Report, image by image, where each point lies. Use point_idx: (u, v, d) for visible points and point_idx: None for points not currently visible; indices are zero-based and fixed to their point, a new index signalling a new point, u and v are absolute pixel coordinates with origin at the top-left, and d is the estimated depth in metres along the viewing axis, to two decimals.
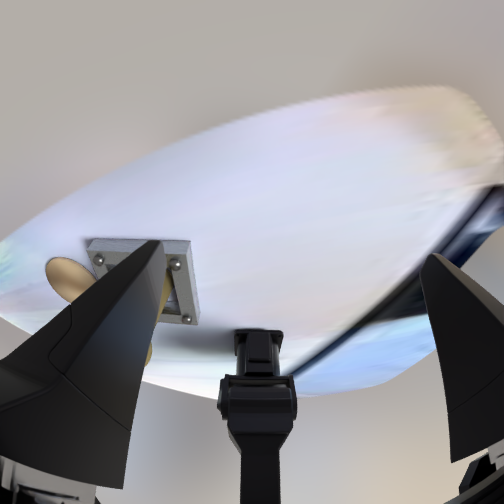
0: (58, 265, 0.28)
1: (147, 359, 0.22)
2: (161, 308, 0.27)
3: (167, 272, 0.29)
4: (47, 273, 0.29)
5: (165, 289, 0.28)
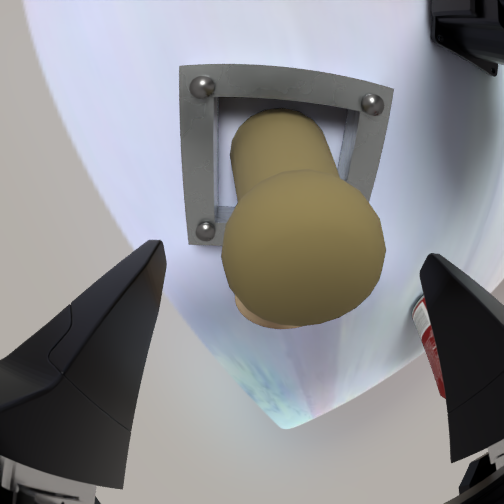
0: None
1: (333, 197, 0.06)
2: (298, 133, 0.11)
3: (259, 114, 0.14)
4: (263, 324, 0.25)
5: (274, 119, 0.13)
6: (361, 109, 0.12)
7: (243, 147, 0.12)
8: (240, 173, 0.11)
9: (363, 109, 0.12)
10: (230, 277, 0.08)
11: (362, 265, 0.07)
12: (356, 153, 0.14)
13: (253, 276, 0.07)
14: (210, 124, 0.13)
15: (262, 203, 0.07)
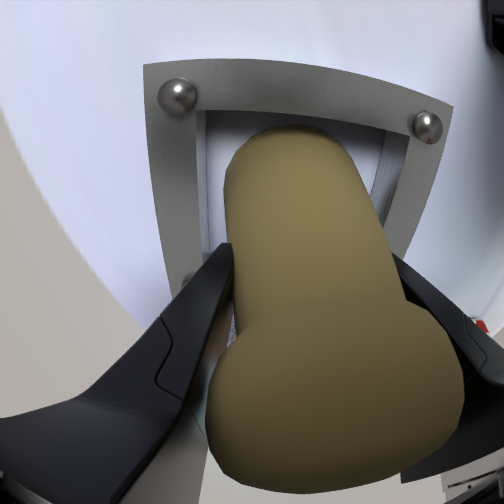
0: None
1: (420, 401, 0.02)
2: (328, 176, 0.07)
3: (264, 133, 0.10)
4: None
5: (288, 147, 0.09)
6: (412, 133, 0.08)
7: (241, 193, 0.08)
8: (235, 245, 0.07)
9: (415, 134, 0.08)
10: (220, 466, 0.04)
11: None
12: (399, 194, 0.10)
13: (256, 486, 0.03)
14: (191, 152, 0.09)
15: (276, 415, 0.03)
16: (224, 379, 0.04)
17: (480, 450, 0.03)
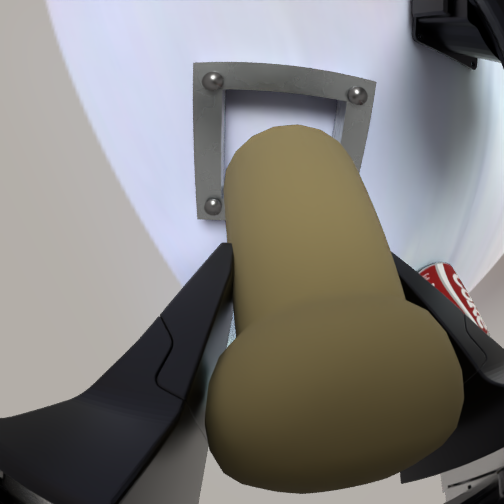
0: None
1: (419, 401, 0.02)
2: (327, 176, 0.07)
3: (264, 133, 0.10)
4: None
5: (288, 146, 0.09)
6: (347, 99, 0.14)
7: (240, 193, 0.08)
8: (236, 245, 0.07)
9: (349, 99, 0.14)
10: (220, 466, 0.04)
11: (424, 457, 0.03)
12: (344, 137, 0.16)
13: (256, 485, 0.03)
14: (218, 112, 0.15)
15: (276, 415, 0.03)
16: (224, 378, 0.04)
17: (480, 450, 0.03)
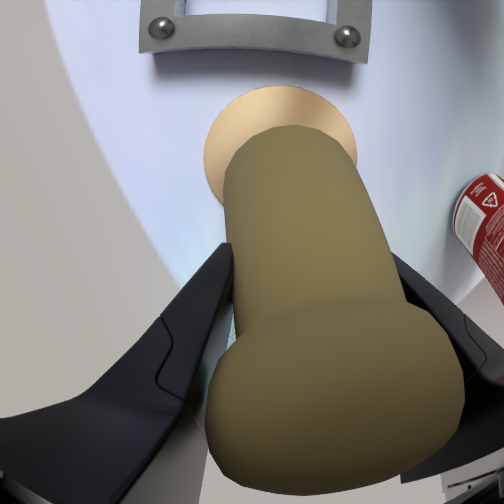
0: (220, 170, 0.15)
1: (420, 403, 0.02)
2: (327, 177, 0.07)
3: (264, 133, 0.10)
4: None
5: (288, 147, 0.08)
6: None
7: (240, 194, 0.08)
8: (235, 246, 0.07)
9: None
10: (220, 468, 0.04)
11: None
12: None
13: (256, 488, 0.03)
14: None
15: (276, 418, 0.03)
16: (224, 381, 0.04)
17: (480, 450, 0.03)
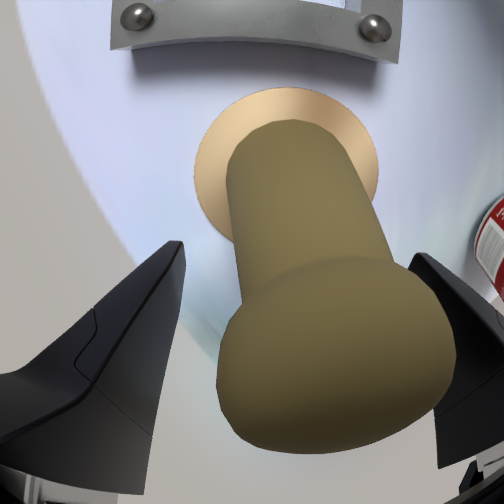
0: (214, 191, 0.13)
1: (412, 341, 0.03)
2: (323, 163, 0.08)
3: (264, 127, 0.11)
4: None
5: (287, 138, 0.09)
6: None
7: (243, 180, 0.09)
8: (240, 226, 0.08)
9: None
10: (231, 426, 0.04)
11: (423, 412, 0.04)
12: None
13: (267, 441, 0.04)
14: None
15: (286, 354, 0.04)
16: (236, 333, 0.04)
17: None
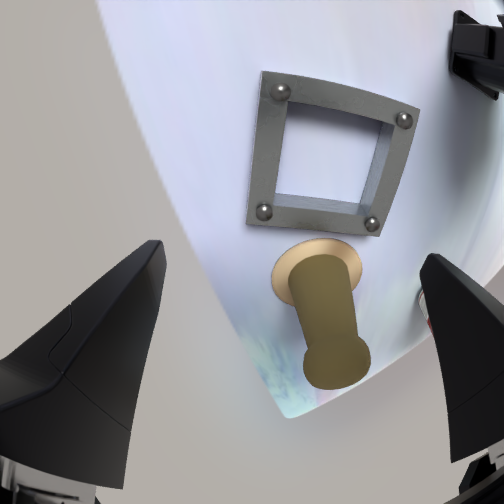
0: (281, 281, 0.26)
1: (353, 355, 0.17)
2: (337, 290, 0.21)
3: (311, 258, 0.24)
4: (292, 303, 0.28)
5: (323, 272, 0.23)
6: (396, 123, 0.15)
7: (305, 292, 0.22)
8: (305, 313, 0.21)
9: (397, 123, 0.15)
10: (310, 377, 0.18)
11: (360, 374, 0.17)
12: (389, 157, 0.17)
13: (320, 379, 0.17)
14: (282, 122, 0.16)
15: (328, 357, 0.17)
16: (314, 352, 0.18)
17: None
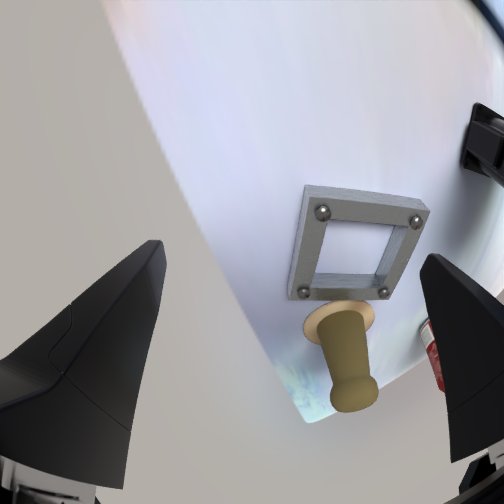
0: (311, 329, 0.32)
1: (366, 392, 0.22)
2: (355, 341, 0.27)
3: (335, 314, 0.30)
4: (318, 342, 0.34)
5: (344, 326, 0.28)
6: (409, 225, 0.20)
7: (331, 342, 0.28)
8: (332, 359, 0.27)
9: (410, 225, 0.20)
10: (335, 406, 0.23)
11: (370, 403, 0.22)
12: (401, 248, 0.22)
13: (343, 407, 0.23)
14: (322, 234, 0.21)
15: (348, 393, 0.22)
16: (339, 390, 0.23)
17: None
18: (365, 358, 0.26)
